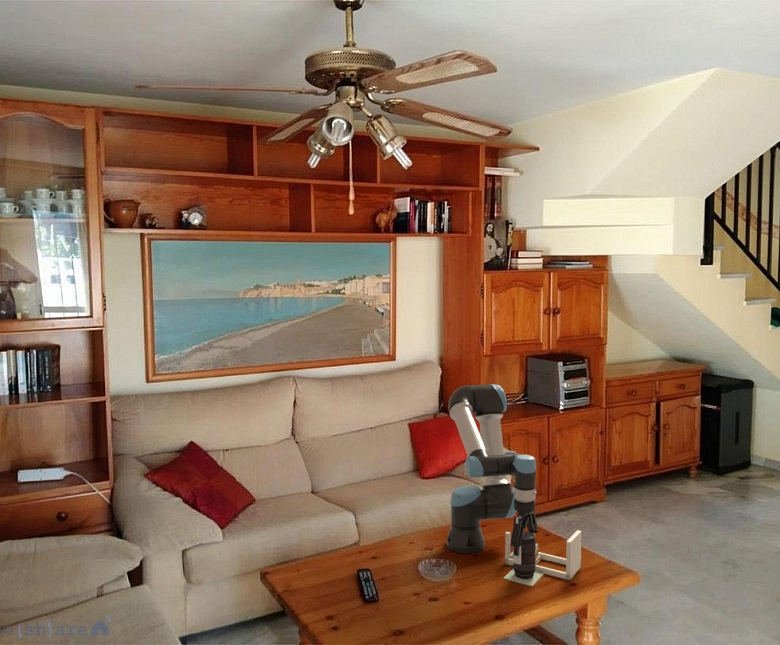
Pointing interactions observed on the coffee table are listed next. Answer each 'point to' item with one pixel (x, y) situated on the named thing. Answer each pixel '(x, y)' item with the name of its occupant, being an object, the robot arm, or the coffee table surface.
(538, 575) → the mat
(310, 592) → the coffee table surface
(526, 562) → the camera lens
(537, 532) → the robot arm
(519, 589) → the coffee table surface
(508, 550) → the rack
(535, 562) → the plate
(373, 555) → the coffee table surface
